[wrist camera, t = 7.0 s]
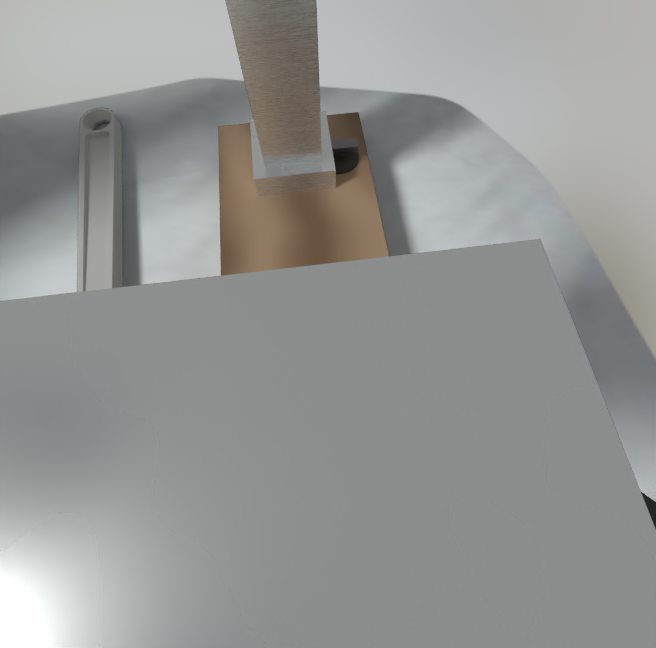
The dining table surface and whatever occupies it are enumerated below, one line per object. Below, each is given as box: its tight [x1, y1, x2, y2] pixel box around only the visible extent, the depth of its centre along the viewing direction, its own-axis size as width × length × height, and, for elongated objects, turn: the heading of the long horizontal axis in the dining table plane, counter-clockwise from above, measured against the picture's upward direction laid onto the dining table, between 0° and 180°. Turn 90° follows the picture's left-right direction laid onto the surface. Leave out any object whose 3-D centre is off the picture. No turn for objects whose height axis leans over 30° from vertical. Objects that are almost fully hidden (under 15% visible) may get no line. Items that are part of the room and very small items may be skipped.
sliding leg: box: [0, 239, 656, 648], centre depth 9 cm, size 7×5×16 cm
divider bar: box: [218, 112, 389, 276], centre depth 21 cm, size 10×28×2 cm, turn 7°
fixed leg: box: [225, 0, 358, 196], centre depth 16 cm, size 7×5×16 cm
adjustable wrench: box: [77, 108, 123, 292], centre depth 23 cm, size 25×6×2 cm, turn 9°
